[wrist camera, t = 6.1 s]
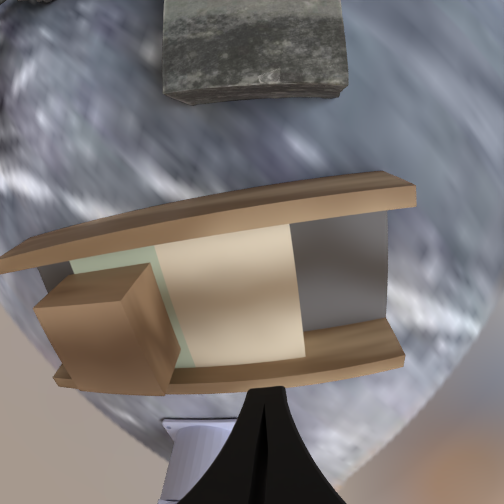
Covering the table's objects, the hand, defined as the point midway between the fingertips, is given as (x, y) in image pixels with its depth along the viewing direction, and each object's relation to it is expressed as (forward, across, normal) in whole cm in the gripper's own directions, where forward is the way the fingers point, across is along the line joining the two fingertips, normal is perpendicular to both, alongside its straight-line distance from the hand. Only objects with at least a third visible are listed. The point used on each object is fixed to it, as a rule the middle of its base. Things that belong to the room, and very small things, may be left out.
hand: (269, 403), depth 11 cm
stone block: (+10, -3, -18) cm, 21 cm away
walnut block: (+6, +9, -1) cm, 11 cm away
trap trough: (+9, +5, -1) cm, 11 cm away
